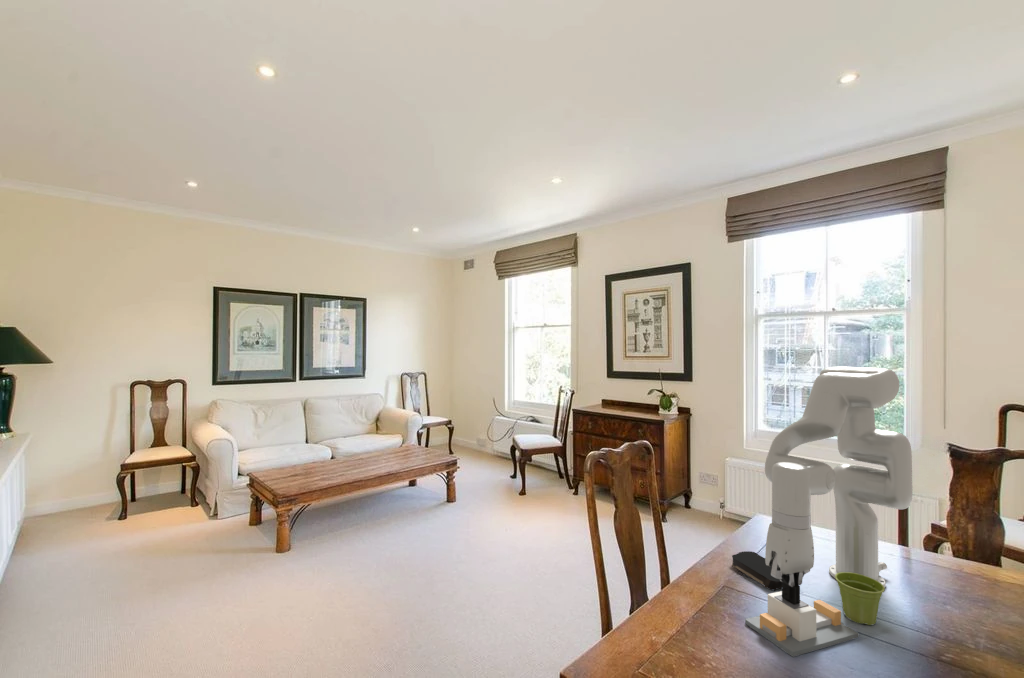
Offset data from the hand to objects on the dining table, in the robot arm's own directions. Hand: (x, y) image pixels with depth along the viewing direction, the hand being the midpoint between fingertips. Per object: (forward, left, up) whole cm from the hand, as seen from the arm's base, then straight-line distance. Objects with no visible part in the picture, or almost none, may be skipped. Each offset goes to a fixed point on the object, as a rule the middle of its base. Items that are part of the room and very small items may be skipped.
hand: (790, 600), depth 102 cm
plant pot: (-21, +1, -8) cm, 22 cm away
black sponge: (-16, -22, -8) cm, 28 cm away
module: (0, 0, -6) cm, 6 cm away
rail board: (-3, 0, -7) cm, 8 cm away
